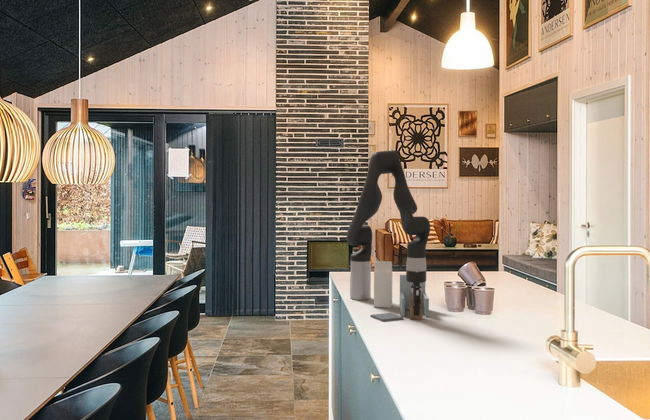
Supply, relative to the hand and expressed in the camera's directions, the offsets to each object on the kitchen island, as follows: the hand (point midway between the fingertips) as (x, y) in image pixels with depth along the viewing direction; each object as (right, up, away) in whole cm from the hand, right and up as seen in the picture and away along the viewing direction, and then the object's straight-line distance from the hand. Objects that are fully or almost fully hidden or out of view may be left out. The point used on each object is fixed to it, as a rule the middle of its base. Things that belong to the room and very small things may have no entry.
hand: (416, 313), depth 215 cm
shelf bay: (+1, -2, +11) cm, 11 cm away
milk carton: (-10, -2, +25) cm, 27 cm away
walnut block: (0, -2, 0) cm, 2 cm away
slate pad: (-11, -2, +1) cm, 11 cm away
